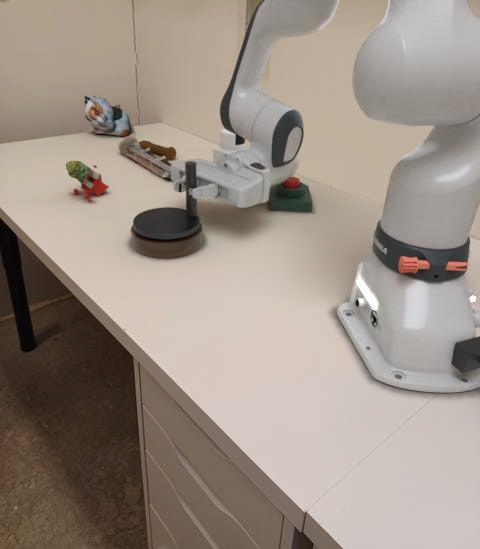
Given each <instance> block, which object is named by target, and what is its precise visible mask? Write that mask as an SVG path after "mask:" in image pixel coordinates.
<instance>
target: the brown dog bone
mask: <svg viewBox="0 0 480 549" xmlns="http://www.w3.org/2000/svg"><path fill="white" fill-rule="evenodd" d="M138 142H139V144H140V146H141V148H142V149H144V150H145V149H147V148H150V150H151V152H152V153H153V154H158V155H161V156H165V157H166V159H167V160H168V161H169V160H170V161H173V160H174V159H175V158H176V156H177V149H176V148H175V147H174V146H169V147H167V146H162V145H160V144H155V143H153V142H151V141H149V140H145V139H144V140H140V141H138Z"/></svg>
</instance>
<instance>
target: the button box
mask: <svg viewBox="0 0 480 549" xmlns="http://www.w3.org/2000/svg"><path fill="white" fill-rule="evenodd" d="M269 210H270V211H278V212H279V211H281V212H298V213H299V212H301V213H302V212H303V213H312V212H313V199H312V195H311V191H310V187H309V185H308V184H306V183H303V182H302V181H300V182H299V188H286V187H284V186H283V182H282V183H280V184H278V185H275V186H273V187H270V192H269Z"/></svg>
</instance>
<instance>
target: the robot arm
mask: <svg viewBox="0 0 480 549" xmlns="http://www.w3.org/2000/svg"><path fill="white" fill-rule="evenodd" d="M340 1H341V0H261V1H260V2H259V3H258V4H257V5H256V7H255V9H254V10H253V13H252V15H251V18H250V20H249V23H248V26H247V28H246V31H245V34H244V38H243V41H242V44H241V47H240V51H239V54H238V56H237V60H236V63H235V67H234V70H233V72H232V75H231V79H230V82H229V84H228V85H227V88H226V90H225V92H224V93H223V96H222V98H221V101H220V106H219V117H220V122H221V124H222V126H223V129H224V128H225V129H226V130H228V131H230V132H232V133H234V134H236V135H238V136H240V137H243V138H244V139H245V141H248V142H249V143H250V144H249V145H250V146H249V147H247V148H248V149H245V150H241V151H237V152H233V153H229V154H225V155H223V156H222V157H221V158H220V159H219V160H218V163H217V164H215V163H213V161H212V162H211V161H209V160H206V159H202V158H192V159H184V160H179V161H174V162H172V163H171V164H172V165H171V178H170V179H171V180H170V181H171V182H173V190H174V191H175V192H177V193H184V192H186V182H185V162H187V161H194V162H196V168H197V186H194V187H190V188H189V196H190V197H192V198H194V199H197V200H198V199H201V198H214V199H217V200H219V201H221V202H224V203H226V204H228V205H231V206H234V207H236V208H243V209H244V208H246V209H247V208H250V207H253V206H257V205H259V204H264V203H267V202H268V201H269V200H270V194H269V192H270V187H273V186H275V185H278V184H280V183H282V182H284V181H286V180H287V179H288V178H290V177H293V175H295V173H297V170H298V169H299V165H300V153H299V151H300V149H301V148H302V145H303V140H304V135H305V134H304V133H305V131H304V130H305V128H304V127H305V126H304V120H303V116H302V114H301V112H299V111H298V110H297V109H295V108H293V107H291V106H290V105H289V104H286V103H284V102H282V101H280V100H278V99H276V98H275V97H272V96H271V95H269V94H267V93H265V92H264V91H263V89H262V88H261V80H262V77H263V75H264V72H265V69H266V66H267V63H268V60H269V58H270V55H271V53H272V49H273V48H274V46H275V45H276V43H277V42H278V41H280V40H282V39H284V38H296V37H297V38H298V37H305V36H309V35H312V34H314V33H317V32H319V31H321V30H322V29H323V28H324V27H326V26H327V25H328V24H329V23H330V22H331V21H332V19H333V18H334V16H335V13H336V12H337V10H338V8H339V4H340ZM352 66H353V67H352V75H351V76H352V77H351V83H352V90H353V94H354V98H355V100H356V103H357V105H358V106H359V109H360V110H361V112H362V113H363V114H364V115H365V116H366V117H367V118H369V119H371V120H373V121H376V122H377V121H378V122H382V123H387V124H391V125H397V126H402V127H408V128H411V127H412V128H413V127H431V126H432V127H431V130H430V131H429V133H428V134H427V135H426V137H425V138H424V140H423V141H422V142H421V143H419V145H418V146H416V148H414V149H413V150H411V151H410V152H408V153H407V154H406V155H404V156H403V157H402V158H400V159H399V160H398V161H397V163H395V165H394V167H393V168H392V170H391V172H390V173H389V174H390V175H389V180H388V184H387V189H386V194H385V198H384V204H383V209H382V213H381V219H380V220H378V221H377V223H376V228H375V229H374V233H373V237H372V238H373V241H372V245H371V247H372V250H371V252H370V253H369V254H368V256H366V257H365V258H364V259H363V260H362V261H360V263H358V264H357V268H356V272H355V276H354V280H353V282H352V283H353V284H352V288H351V292H350V296H349V300H348V301H346V302H344V303H341V304H340V305H339V306H338V307H337V309H336V316H337V317H338V319H339V321H340V323H341V325H342V326H343V328H344V329H345V331H346V333H347V335H348V336H349V338H350V340H351V342H352V343H353V345H354V347H355V349H356V351H357V352H358V354H359V356H360V357H361V358H360V359H361V360H362V361H363V363H364V365H365V366H366V368H367V370H368V371H369V373H370V375H371V376H372V377H373V378H374V379H375V380H376V381H379V382H381V383H383V384H386V385H389V386H392V387H396V388H398V389H399V388H400V389H403V390H410V391H414V392H415V391H416V392H423V393H424V392H426V393H442V394H443V393H444V394H445V393H447V394H448V393H462V392H468V391H474V390H476V389H479V388H480V336H476V329H479V328H480V309H473V307H472V302H473V303H474V302H476V298H477V296H474V295H473V293H474V289H473V287H470V286H468V282H467V277H466V272H467V271H468V266H469V265H470V263H469V259H470V255H471V250H470V249H471V248H470V247H471V238H470V236H469V235H470V233H471V230H472V227H473V224H474V221H475V218H476V215H477V212H478V210H479V206H480V16H477V15H476V14H475V13H474V11H472V9H471V7H470V5H469V0H388V2H387V7H386V11H385V14H384V16H383V18H382V20H381V21H380V22H379V24H378V25H377V26H376V27H375V28H373V29H372V30H371V31H370V33H369V34H368V35H367V36H366V37H365V38H364V40H363V42H362V43H361V45H360V47H359V49H358V51H357V54H356V56H355V60H354V62H353V65H352Z"/></svg>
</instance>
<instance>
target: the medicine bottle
mask: <svg viewBox="0 0 480 549" xmlns="http://www.w3.org/2000/svg"><path fill="white" fill-rule="evenodd" d="M245 146H246V139H244V138H243V137H240V136H238V135H236V134H234V133H232V132H230V131H228V130H226V129H225V128H224V127H223V128H222V129H221V130H220V145H219V146H216V147H215V146H214V147H213V148H212V163H215V164H217V163H218V160H219V159H220V158H221V157H222V156H223V155H225V154H229V153H233V152H237V151H241V150H245V149H248V148H249V147H245Z"/></svg>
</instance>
